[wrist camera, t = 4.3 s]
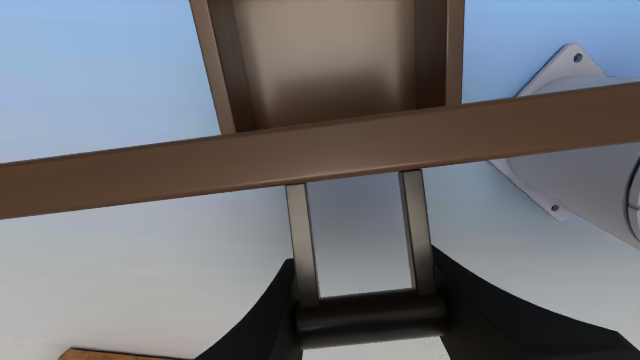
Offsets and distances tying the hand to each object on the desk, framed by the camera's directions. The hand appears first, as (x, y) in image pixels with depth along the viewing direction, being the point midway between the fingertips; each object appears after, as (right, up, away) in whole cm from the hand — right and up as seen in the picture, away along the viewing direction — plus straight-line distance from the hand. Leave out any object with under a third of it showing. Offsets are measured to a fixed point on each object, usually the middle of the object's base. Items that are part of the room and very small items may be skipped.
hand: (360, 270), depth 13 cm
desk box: (-1, +11, +5) cm, 13 cm away
